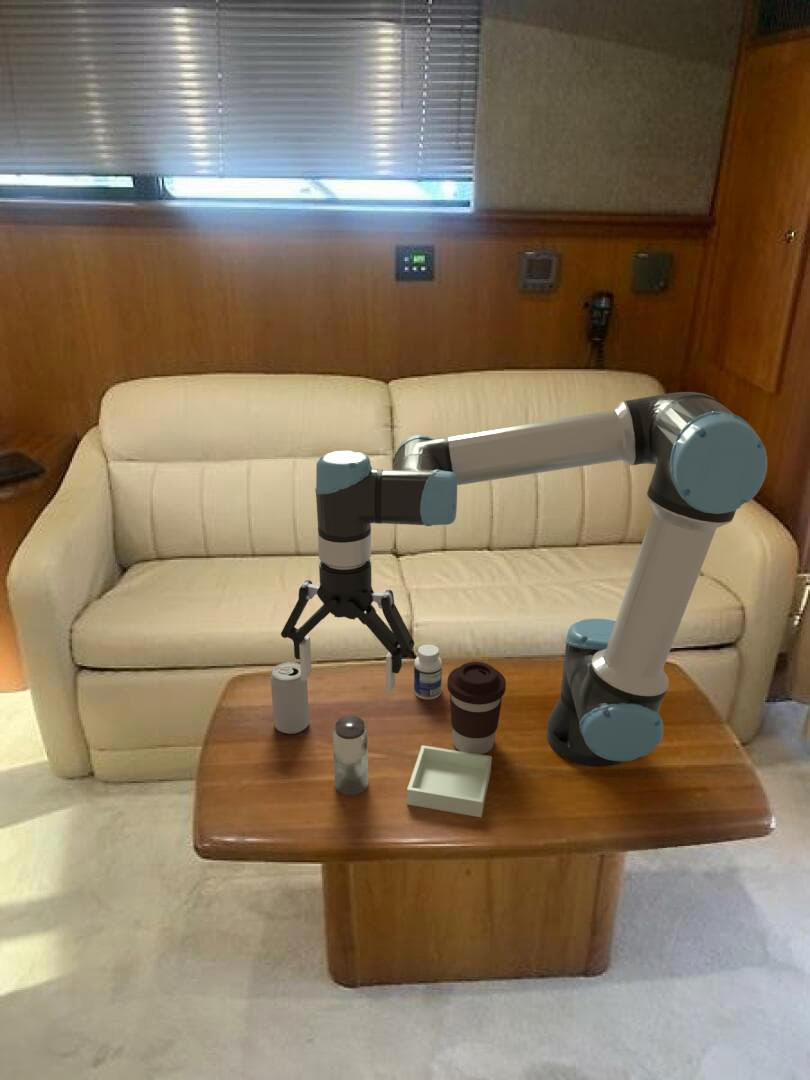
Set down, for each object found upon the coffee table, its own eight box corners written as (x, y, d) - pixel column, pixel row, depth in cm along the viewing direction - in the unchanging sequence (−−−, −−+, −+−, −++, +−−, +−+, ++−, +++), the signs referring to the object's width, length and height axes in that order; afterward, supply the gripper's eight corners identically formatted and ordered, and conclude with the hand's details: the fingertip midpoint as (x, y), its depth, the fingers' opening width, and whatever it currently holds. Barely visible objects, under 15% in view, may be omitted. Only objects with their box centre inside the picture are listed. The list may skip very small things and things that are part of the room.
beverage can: (303, 738, 140) (300, 682, 135) (269, 734, 141) (264, 678, 136) (314, 717, 146) (311, 662, 141) (281, 712, 147) (277, 658, 142)
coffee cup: (451, 764, 134) (454, 691, 128) (440, 728, 143) (442, 658, 137) (507, 758, 136) (513, 686, 130) (493, 723, 145) (498, 654, 138)
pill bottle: (415, 683, 156) (416, 641, 152) (442, 685, 155) (444, 643, 151) (412, 699, 151) (412, 656, 147) (440, 701, 151) (441, 658, 146)
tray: (490, 770, 133) (491, 756, 132) (481, 817, 123) (482, 802, 122) (421, 759, 135) (421, 745, 134) (407, 804, 126) (407, 789, 124)
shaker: (372, 775, 132) (371, 716, 127) (362, 797, 127) (361, 738, 122) (340, 769, 133) (338, 711, 128) (330, 792, 128) (328, 732, 123)
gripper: (435, 557, 114) (431, 679, 122) (273, 539, 119) (281, 658, 128) (424, 580, 107) (421, 708, 116) (253, 560, 112) (263, 684, 121)
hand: (348, 682), depth 122 cm, fingers open, 13 cm apart
